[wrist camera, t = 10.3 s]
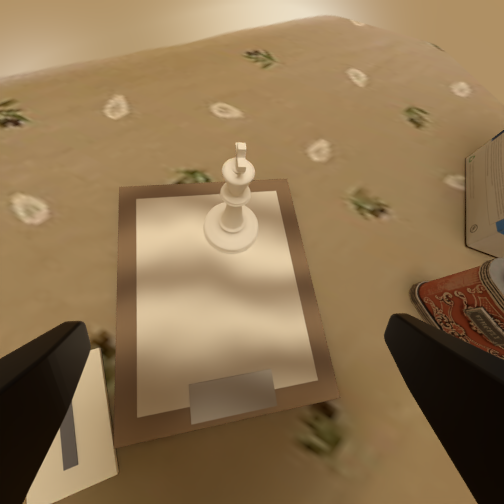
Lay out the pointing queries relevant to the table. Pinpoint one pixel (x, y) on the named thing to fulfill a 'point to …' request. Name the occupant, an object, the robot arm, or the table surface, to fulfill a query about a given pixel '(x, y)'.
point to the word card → (79, 441)
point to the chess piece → (233, 208)
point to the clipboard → (212, 315)
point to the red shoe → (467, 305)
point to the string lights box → (486, 198)
